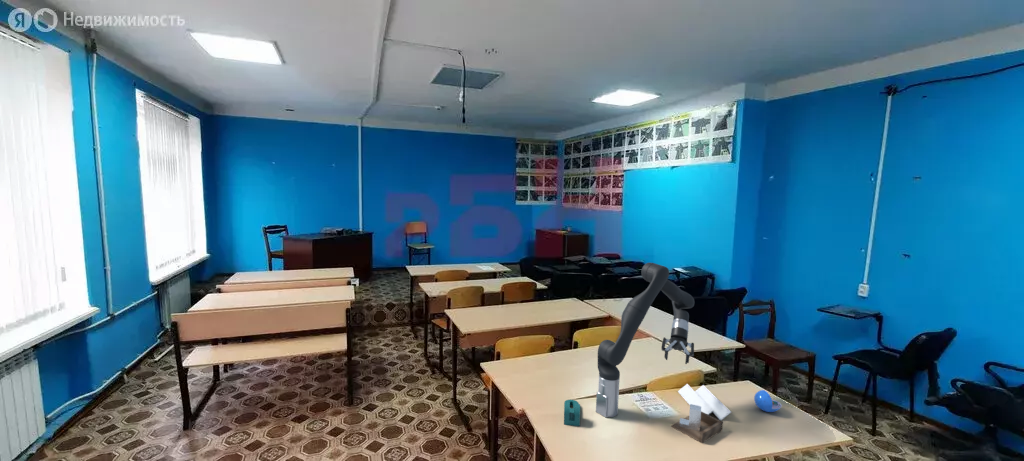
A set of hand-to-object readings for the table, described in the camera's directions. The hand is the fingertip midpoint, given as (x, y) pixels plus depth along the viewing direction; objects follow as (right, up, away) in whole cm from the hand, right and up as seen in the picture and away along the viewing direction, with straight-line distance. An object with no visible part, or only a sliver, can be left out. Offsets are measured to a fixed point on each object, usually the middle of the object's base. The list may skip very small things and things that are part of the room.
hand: (676, 361), depth 187 cm
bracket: (-50, -23, -4) cm, 55 cm away
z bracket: (+15, -24, +6) cm, 29 cm away
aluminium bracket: (+1, -24, -12) cm, 27 cm away
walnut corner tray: (+3, -25, -13) cm, 28 cm away
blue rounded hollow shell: (+44, -24, +3) cm, 51 cm away
